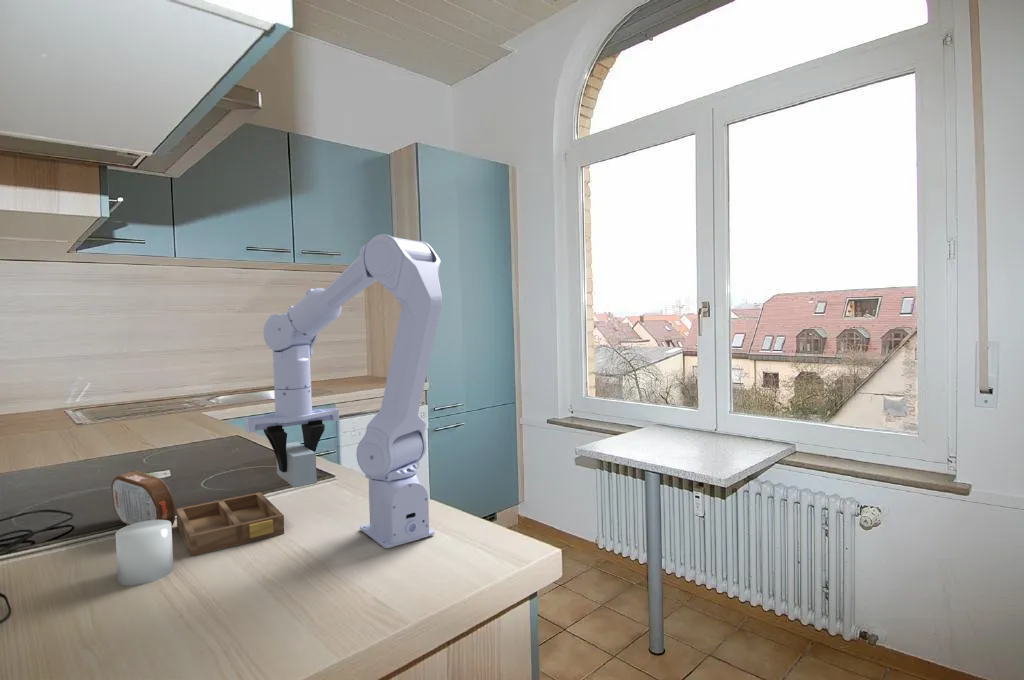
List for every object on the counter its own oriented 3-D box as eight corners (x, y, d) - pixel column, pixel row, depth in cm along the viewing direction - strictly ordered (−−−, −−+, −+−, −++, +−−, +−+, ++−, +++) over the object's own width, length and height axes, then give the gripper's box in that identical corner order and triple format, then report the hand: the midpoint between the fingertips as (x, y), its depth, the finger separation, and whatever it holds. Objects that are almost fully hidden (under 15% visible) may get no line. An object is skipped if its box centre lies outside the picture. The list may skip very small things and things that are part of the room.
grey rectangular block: (316, 483, 90) (315, 452, 90) (294, 487, 88) (293, 456, 88) (297, 469, 98) (296, 441, 98) (277, 473, 96) (275, 445, 95)
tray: (285, 534, 84) (284, 516, 84) (191, 558, 76) (190, 538, 76) (260, 508, 95) (260, 492, 95) (177, 526, 88) (176, 508, 88)
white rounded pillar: (176, 575, 71) (174, 529, 71) (119, 590, 68) (116, 542, 67) (170, 559, 76) (168, 516, 76) (116, 572, 72) (114, 527, 72)
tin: (178, 534, 85) (175, 479, 84) (156, 541, 82) (153, 485, 82) (130, 516, 93) (128, 466, 92) (109, 522, 90) (106, 471, 90)
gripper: (327, 381, 100) (330, 456, 100) (239, 389, 91) (243, 471, 91) (342, 384, 94) (345, 464, 95) (250, 394, 85) (253, 481, 86)
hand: (296, 468), depth 93 cm, fingers closed on grey rectangular block, 3 cm apart
